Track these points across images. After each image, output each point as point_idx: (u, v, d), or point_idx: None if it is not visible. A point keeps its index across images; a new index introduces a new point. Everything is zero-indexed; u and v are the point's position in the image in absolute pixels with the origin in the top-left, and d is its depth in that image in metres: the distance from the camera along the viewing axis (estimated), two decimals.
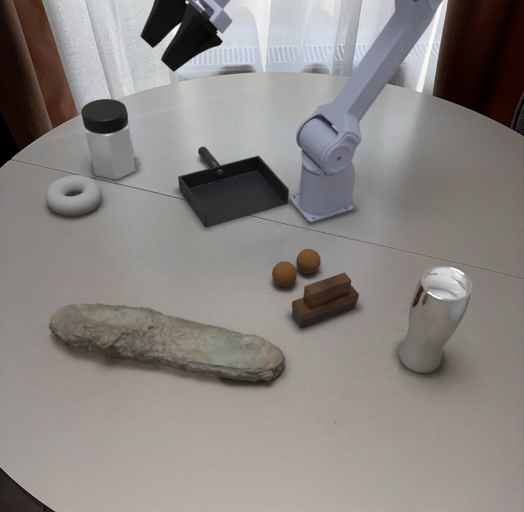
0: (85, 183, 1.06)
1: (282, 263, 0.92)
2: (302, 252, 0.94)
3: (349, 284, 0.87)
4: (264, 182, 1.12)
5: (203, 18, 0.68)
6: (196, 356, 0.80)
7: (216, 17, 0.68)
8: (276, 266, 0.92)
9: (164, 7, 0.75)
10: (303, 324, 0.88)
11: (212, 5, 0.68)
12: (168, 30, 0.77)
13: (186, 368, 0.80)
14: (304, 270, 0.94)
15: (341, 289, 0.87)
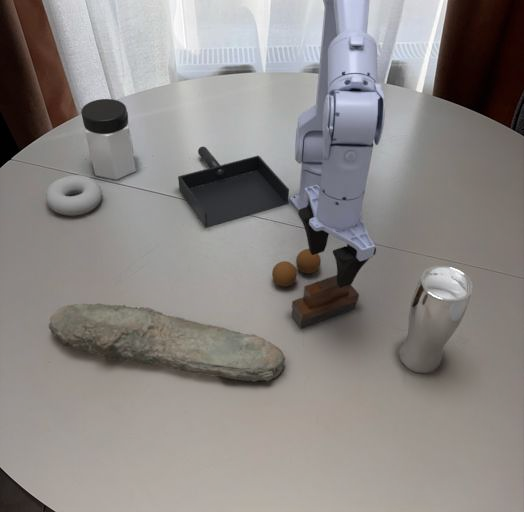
0: (85, 183, 1.06)
1: (282, 263, 0.92)
2: (302, 252, 0.94)
3: None
4: (264, 182, 1.12)
5: (351, 259, 0.74)
6: (196, 356, 0.80)
7: (360, 256, 0.73)
8: (276, 266, 0.92)
9: None
10: (303, 324, 0.88)
11: (352, 245, 0.73)
12: (327, 233, 0.83)
13: (186, 368, 0.80)
14: (304, 270, 0.94)
15: (341, 289, 0.87)
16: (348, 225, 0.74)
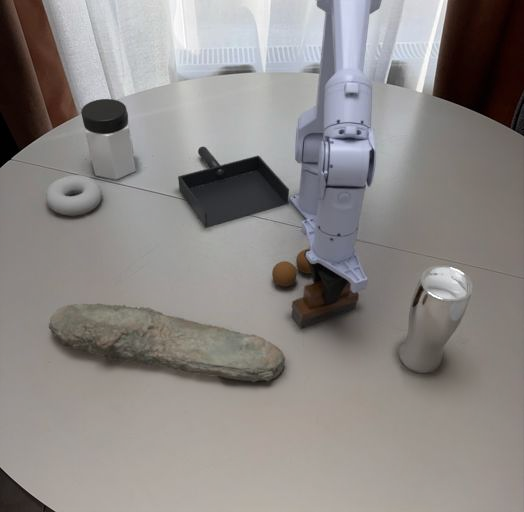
0: (85, 183, 1.06)
1: (282, 263, 0.92)
2: (302, 252, 0.94)
3: (349, 284, 0.87)
4: (264, 182, 1.12)
5: (335, 279, 0.80)
6: (196, 356, 0.80)
7: (354, 289, 0.77)
8: (276, 266, 0.92)
9: (319, 268, 0.85)
10: (303, 324, 0.88)
11: (346, 278, 0.78)
12: None
13: (186, 368, 0.80)
14: (304, 270, 0.94)
15: None
16: (342, 258, 0.79)
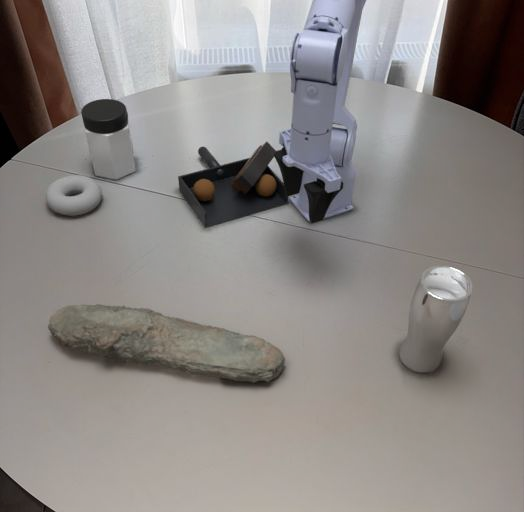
0: (85, 183, 1.06)
1: (206, 179, 1.06)
2: (262, 180, 1.06)
3: None
4: None
5: (320, 192, 0.81)
6: (195, 357, 0.80)
7: (328, 188, 0.80)
8: None
9: (288, 168, 0.89)
10: (241, 174, 1.04)
11: (320, 178, 0.80)
12: (301, 175, 0.91)
13: (186, 369, 0.80)
14: None
15: None
16: (317, 160, 0.81)
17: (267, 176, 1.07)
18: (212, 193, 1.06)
